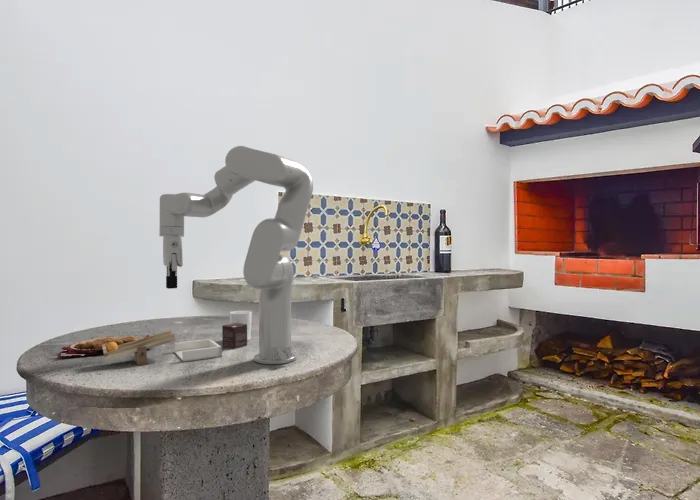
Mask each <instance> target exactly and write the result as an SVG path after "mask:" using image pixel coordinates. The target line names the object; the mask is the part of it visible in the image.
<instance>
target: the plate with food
mask: <svg viewBox="0 0 700 500" xmlns="http://www.w3.org/2000/svg"><path fill="white" fill-rule="evenodd" d="M145 336H146V337H149V336H150V335H149V334H147V335H145ZM145 336H143V337H142V336H139V335H119V336H118V335H116V336H114V335H110V336H105V337H97V338H94V337H92V338H91V339H86V340H81V341H79V342H73V343H71V344H69V346H63V347H61V348H60V349H61V352H60V354H61V353H66V352H68V353H66V354H85V355H87V356H91V355H97V354H99V355H100V354H102V355H104V352H103V348H102V345H104V344H105V346H107V344H108V343H110V342H115V343H116V344H117V345H121V344H125V343H128V342H132V341H135V340H139V339H142V338H146V337H145ZM89 349H90V350H89ZM62 350H67V351H62ZM99 351H101V352H99ZM60 354H58V355H57V357H58V358H59V357H60V358H68V357H67V356H61V355H60ZM85 355H84V356H85ZM72 356H73V357H81V355H79V356H78V355H72ZM85 357H86V356H85ZM70 358H72V357H71V356H70Z"/></svg>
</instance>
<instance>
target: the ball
mask: <svg viewBox="0 0 700 500" xmlns="http://www.w3.org/2000/svg"><path fill="white" fill-rule="evenodd" d="M117 348H118V345H117V344H116V343H115V342H110V343H108V344H107V346H106V350H107V351H108V352H110V351H113V350H117Z"/></svg>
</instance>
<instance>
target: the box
mask: <svg viewBox="0 0 700 500" xmlns="http://www.w3.org/2000/svg"><path fill="white" fill-rule="evenodd" d="M221 327H222V329H221V330H222V336H221V341H222V342H221V345H222V346H221V347H222V348H226V349H227V348H228V349H229V348H230V349H233V350H234V349H235V350H236V349H237V348H242V347H244V346H248V340H247V324H240V323H232V324H230V323H228V324H224V325H222V326H221Z"/></svg>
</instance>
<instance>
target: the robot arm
mask: <svg viewBox="0 0 700 500" xmlns="http://www.w3.org/2000/svg"><path fill="white" fill-rule="evenodd" d="M213 178H214V182H215V185H216V186H215V187H214V188H212V189H211V190H209V191H208V192H205V194H200V193H194V192H193V193H192V192H180V193H163V194H161V195H160V197H159V232H158V233H159V237H162V240H163V241H162V258H163V259H162V260H163V261H162V263H163V265H164V266H165V267H166V276H165V285H166V286H165V288H166V289H168V290H170V289H178V267H179V268H182V267H183V265H184V264H183V263H184V262H183V259H184V258H183V241H182V239H183V238H184V237H185V217H190V218H191V217H192V218H207V217H210V216H213V215H214V214H216V213H218V212H219V211H221V210H223V209H224V208H225V207H226V206H227V205H228V204H229V203H230V201H231V199H232V198H233V196H234V194H236V193H238V192H240V191H241V190H242V189H244V188H246V187H247V186H249V185H251V184H253V183H254V182H260V183H263V184H267V185H270V186H275V187H281V188H283V189H285V192H284V194H283V195H282V197H281V198H280V200H279V201H278V202H279V203H278V206H277V210H276V213H275V216H274V218H266V219H263V220H261V221H260V222H259V223H258V224H257V225H256V227H255V228H254V230H253V233H252V236H251V238H250V242H249V246H248V248H247V249H248V250H247V253H246V256H245V260H244V263H243V269H242V270H243V271H242V272H243V277H244V280H245V283H246V284H247V285H248V286H249V287H250V288H253V289H257V290H258V289H260V293H259V297H258V331H259V332H258V337H259V339H258V345H259V353H256V354H255V355H254V356H253V361H255V363H258V364H261V365H282V364H287V363H291V362H293V361H295V360H297V353H295V352H294V351H292V289H293V281H294V274H295V273H294V265H293V263H292V262H291V260H290V259H289V258H288V257H287V256H285V255H283V254H281V253H285V252H289V251H292V250H294V249H295V248H296V247H297V246H298V243H299V240H300V237H301V234H302V230H303V227H304V223H305V219H306V216H307V212H308V209H309V205H310V202H311V200H312V196H313V192H314V191H313V190H314V183H313V179H312V176H311V174H310V172H309V170H308V169H307V168H305V167H304V165H303V164H301V163H300V162H297V161H296V160H293V159H291V158H287V157H284V156H281V155H278V154H275V153H271V152H268V151H267V152H266V151H264V150H263V151H262V150H258V149H254V148H252V147H248V146H245V145H244V146H243V145H237V146H234V147H233V148H231V149H230V150H229V151H228V152H227V153H226V156H225V166H223V167H222V168H220V169H218V170H217V171H215V173H214V175H213Z"/></svg>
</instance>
